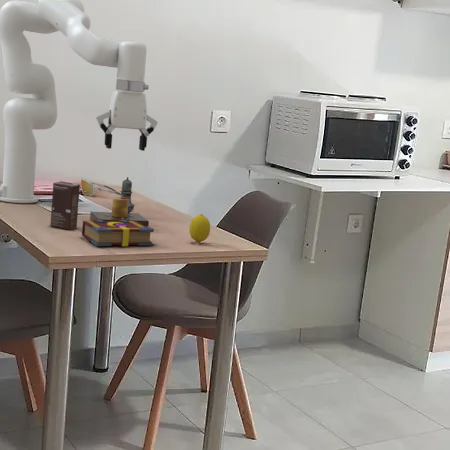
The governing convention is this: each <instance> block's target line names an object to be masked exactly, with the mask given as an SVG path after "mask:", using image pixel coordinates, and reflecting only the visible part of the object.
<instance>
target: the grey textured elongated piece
mask: <svg viewBox="0 0 450 450" xmlns="http://www.w3.org/2000/svg"><path fill="white" fill-rule="evenodd" d="M132 186H133V182H132V181H131V180H130V178H129V177H128V176H126V179H124V180H123V181H122V183H121V190H120V192H119V193H121V195H120V197H126V198H129V203H128V213H133V211H134V208H135V206H136V204H134V203H133V202H132V194H133V192H132V189H133V187H132Z"/></svg>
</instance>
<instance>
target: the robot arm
mask: <svg viewBox="0 0 450 450" xmlns="http://www.w3.org/2000/svg"><path fill="white" fill-rule="evenodd" d="M90 29H91V19H90V16H89V15H88V14H87V13H85V7H84V4H83V2H82V1H81V0H37V3H35V2H30V1H26V0H10V1H7V2H6V3H3V5H2V7H0V46H1V47H0V48H1V54H2V57H1V58H2V65H3V76H4V83H5V86H6V88H7V90H8V91H9V92H11V93H15V94H20V95H31V97H14V98H11V99H9V100H8V101H6V102H5V104H4V106H3V109H2V119H3V126H4V147H3V148H4V152H3V153H4V154H3V170H2V171H3V172H2V183H0V201H1V202H5V203H14V204H33V203H38V202H39V196H38V195H35V179H36V164H37V163H36V161H37V146H38V145H37V140H36V139H37V138H36V137H35V133H34V132H33V130H49V129H51V128H53V127H54V125H56V123H57V119H58V105H57V94H56V93H57V92H56V83H55V77H54V75H53V72H52V71H51V70H50V68H49V67H48V66H46V65H44V64H41V63H34V62H33V59H32V48H31V46H30V43H29V41H28V39H27V38H26V36H25V34H24V32H29V33H36V34H42V35H43V34H44V35H49V34H53V33H57V32H61V34H63V35H64V36H65V37H66V38H67V42H68V45H69V47H70V48H71V50H72V51H73V52H74V53H76V54H77V55H78V56H79V57H80V58H81V59H83V60H84V61H86V62H87V63H88V64H91V65H94V66H99V67H101V66H102V67H108V68H117V70H116V83H115V84H116V85H115V90H113V91H112V93H111V96H110V97H111V98H110V101H109V106H108V111H107V112H104V113H102V114H100V115H97V116H96V121H97V124H98V125H99V126H98V127H99V128H100V129H101V131H103V133H104V146H105V148H106V149H107V150H110V149H112V145H113V134H112V132H113V131H114V130H115V129H116V128H117V129H127V130H128V129H129V130H138V131H139V133H140V134H141V135H139V143H138V150H140V151H141V152H144V151H145V149H146V148H147V143H148V137H149V136H150V135H151V134H152V133H153V132H154V130H155V129H156V127H157V125H158V121H157V120H155V119H154V118H153V117H151V116H150V115H148V113H147V98H146V94H145V91H147V90H149V87H150V86H149V84H146V82H145V76H146V75H145V73H146V61H147V45H146V44H145V43H143V42H140V41H134V40H133V41H131V40H117V39H111V38H106V37H100V36H98V35H96V34H94V32H92V31H91V30H90ZM106 119H107V126H106V124H105V122H104V120H106ZM147 122H148V123H150V124H149V127H148V128H147V127H146V126H147Z"/></svg>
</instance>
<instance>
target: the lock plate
mask: <svg viewBox="0 0 450 450" xmlns="http://www.w3.org/2000/svg"><path fill="white" fill-rule="evenodd" d="M94 220H103V221H117V220H126V221H136V222H138V223H140V224H142V225H144V226H146V227H147V226H148V227H149V224H150V220H148V219H147V218H145V217H144V216H143V215H141V214H140V213H138V212H130V213H128V214H127V217H124V218H121V217H114V216H112V211H90V213H89V221H94Z"/></svg>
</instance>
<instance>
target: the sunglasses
mask: <svg viewBox="0 0 450 450" xmlns="http://www.w3.org/2000/svg"><path fill="white" fill-rule="evenodd" d="M79 185H80V189H82V190H83V191H82V190H80V191H79V192H80V193H82V195H84V196H89V197H90V196H95V193H96V190H98V191H105V192H107V193H111V194H116V195H117V196H118V195H119V196H121V192H118V190H116V189H115V188H112V187H110V186H109V185H106V184H101V183H98V182H94V181H90V180H87V179H86V178H83V177H81V181H80V184H79ZM84 191H86V192H84Z"/></svg>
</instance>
